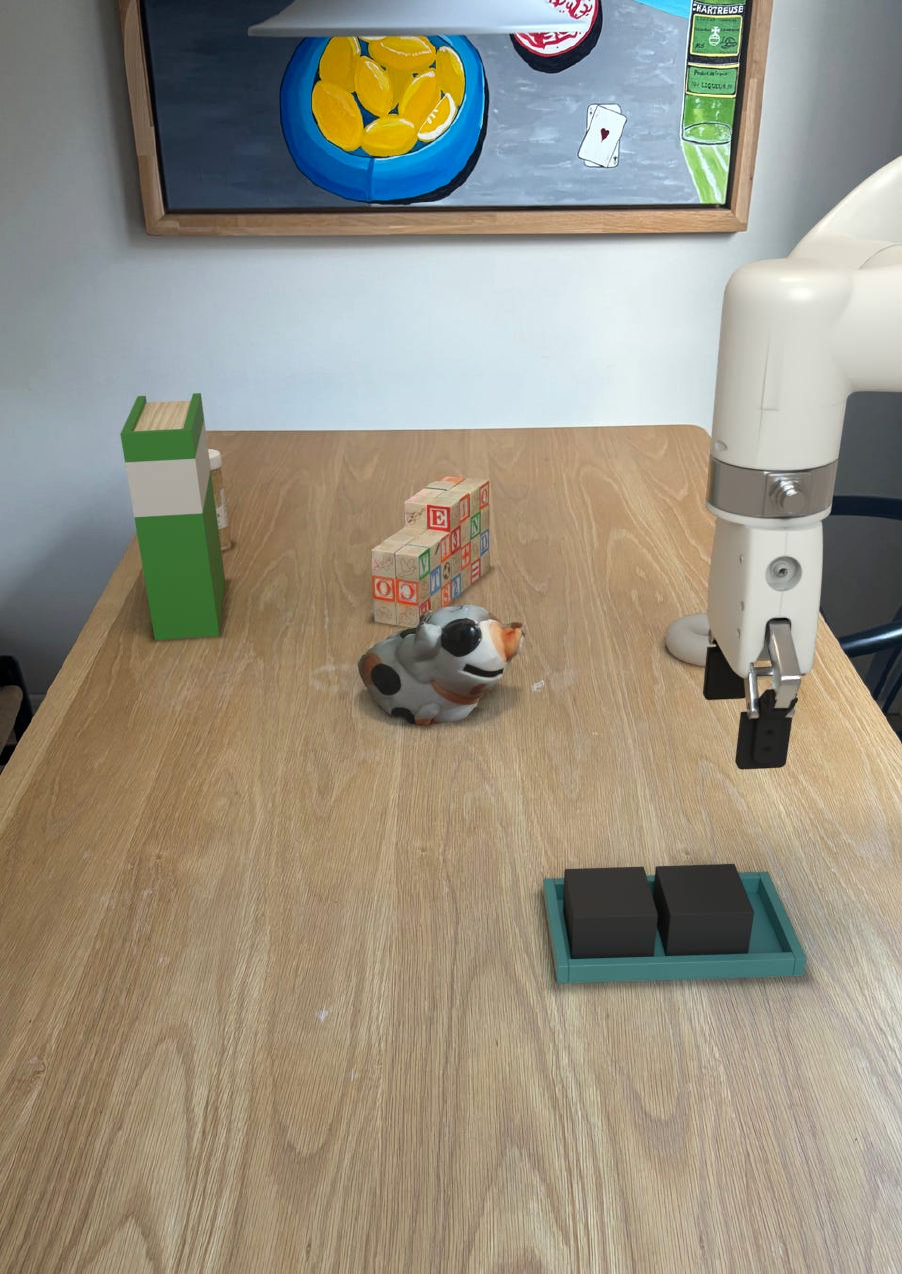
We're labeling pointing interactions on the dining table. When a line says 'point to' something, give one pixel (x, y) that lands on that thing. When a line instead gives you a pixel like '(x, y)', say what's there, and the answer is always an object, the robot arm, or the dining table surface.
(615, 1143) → the dining table surface
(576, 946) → the seated pad
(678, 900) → the black square block
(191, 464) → the hardback book
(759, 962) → the tray
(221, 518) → the sprinkles bottle
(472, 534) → the stack of blocks
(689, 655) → the donut
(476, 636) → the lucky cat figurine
